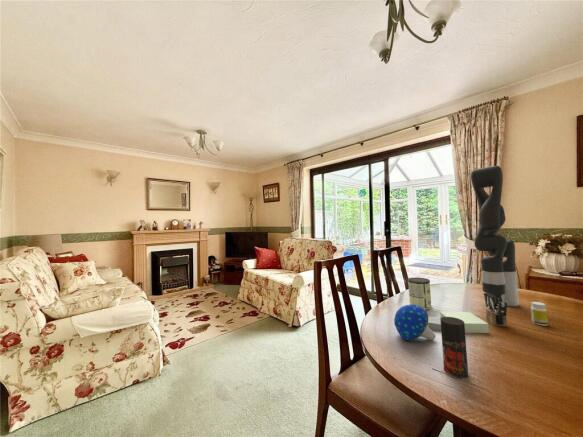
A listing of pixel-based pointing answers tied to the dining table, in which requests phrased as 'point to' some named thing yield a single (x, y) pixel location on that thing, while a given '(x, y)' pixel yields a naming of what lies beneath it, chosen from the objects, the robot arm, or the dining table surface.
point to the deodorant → (454, 347)
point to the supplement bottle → (539, 314)
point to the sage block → (468, 321)
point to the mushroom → (413, 323)
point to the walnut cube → (494, 317)
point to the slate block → (434, 323)
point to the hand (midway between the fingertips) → (496, 321)
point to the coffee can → (420, 292)
